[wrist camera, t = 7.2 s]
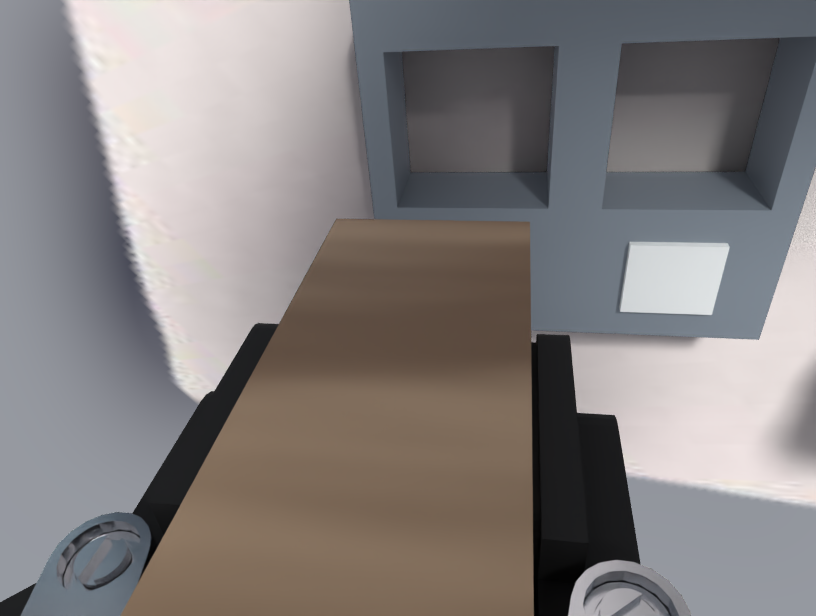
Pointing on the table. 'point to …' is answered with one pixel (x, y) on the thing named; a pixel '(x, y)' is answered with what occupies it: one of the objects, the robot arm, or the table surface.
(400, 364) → the plug
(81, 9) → the table surface
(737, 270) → the socket block
